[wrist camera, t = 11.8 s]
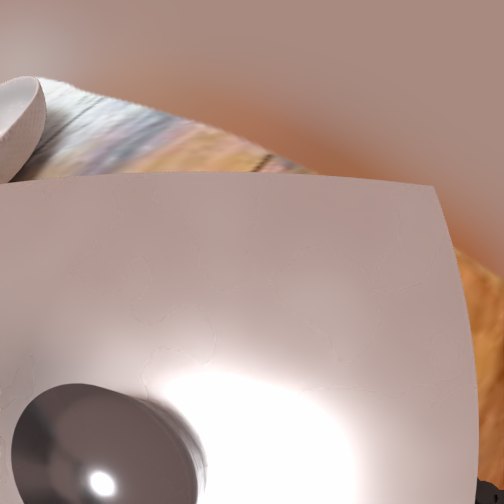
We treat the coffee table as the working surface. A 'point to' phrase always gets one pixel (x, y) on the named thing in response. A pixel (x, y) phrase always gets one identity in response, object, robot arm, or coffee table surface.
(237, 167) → the coffee table surface
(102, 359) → the metal cover
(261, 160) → the coffee table surface
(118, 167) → the coffee table surface
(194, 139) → the coffee table surface
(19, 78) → the cereal bowl
